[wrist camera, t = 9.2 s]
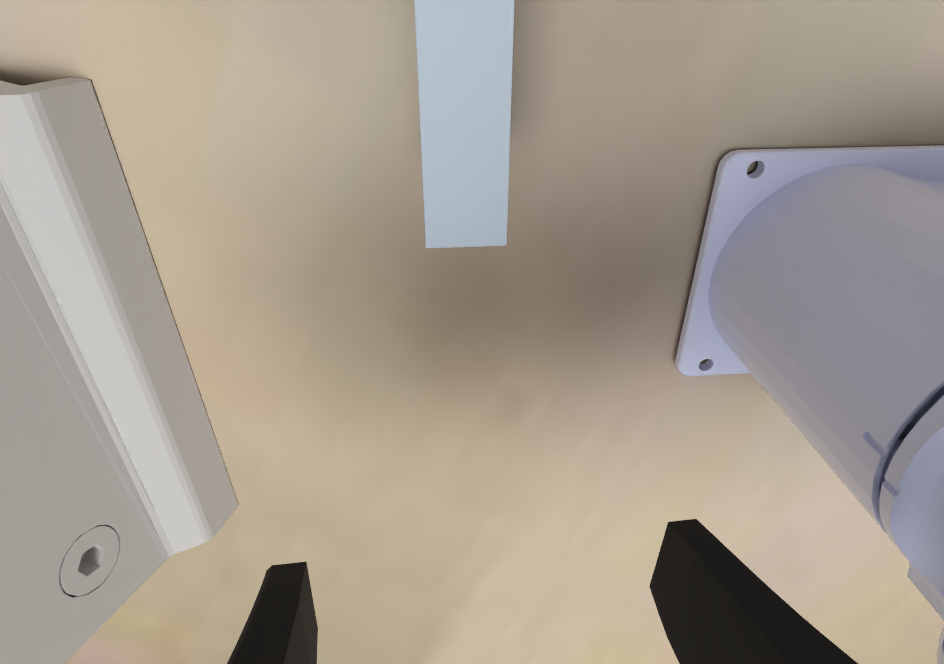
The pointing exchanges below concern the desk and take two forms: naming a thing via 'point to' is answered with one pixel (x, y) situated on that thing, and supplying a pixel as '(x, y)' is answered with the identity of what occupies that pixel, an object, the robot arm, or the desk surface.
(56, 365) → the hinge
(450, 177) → the upright grey panel
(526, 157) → the desk surface
